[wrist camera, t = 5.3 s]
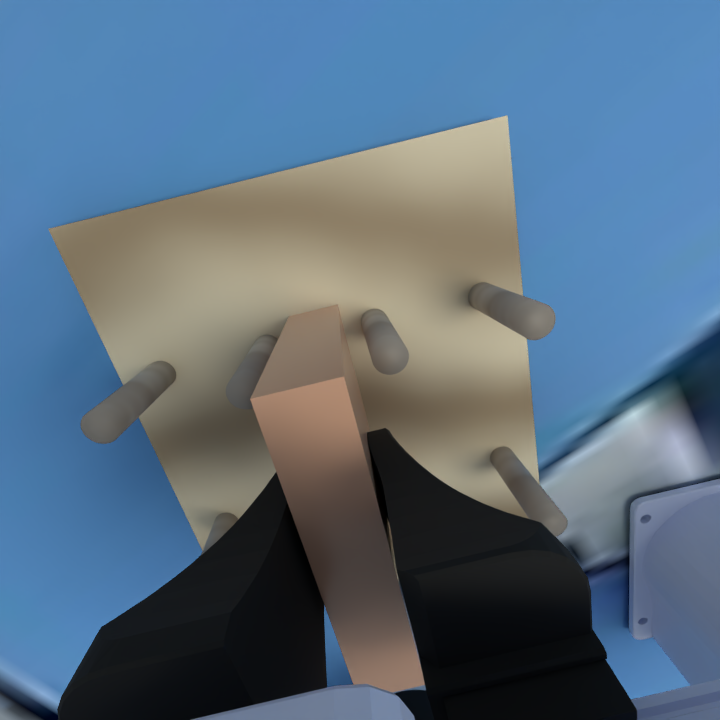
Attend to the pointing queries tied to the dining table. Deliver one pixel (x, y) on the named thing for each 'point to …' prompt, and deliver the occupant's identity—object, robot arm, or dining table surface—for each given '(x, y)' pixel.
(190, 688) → the robot arm
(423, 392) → the dish rack
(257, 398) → the brown rectangular block
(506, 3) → the dining table surface
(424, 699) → the dixie cup
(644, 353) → the dining table surface
